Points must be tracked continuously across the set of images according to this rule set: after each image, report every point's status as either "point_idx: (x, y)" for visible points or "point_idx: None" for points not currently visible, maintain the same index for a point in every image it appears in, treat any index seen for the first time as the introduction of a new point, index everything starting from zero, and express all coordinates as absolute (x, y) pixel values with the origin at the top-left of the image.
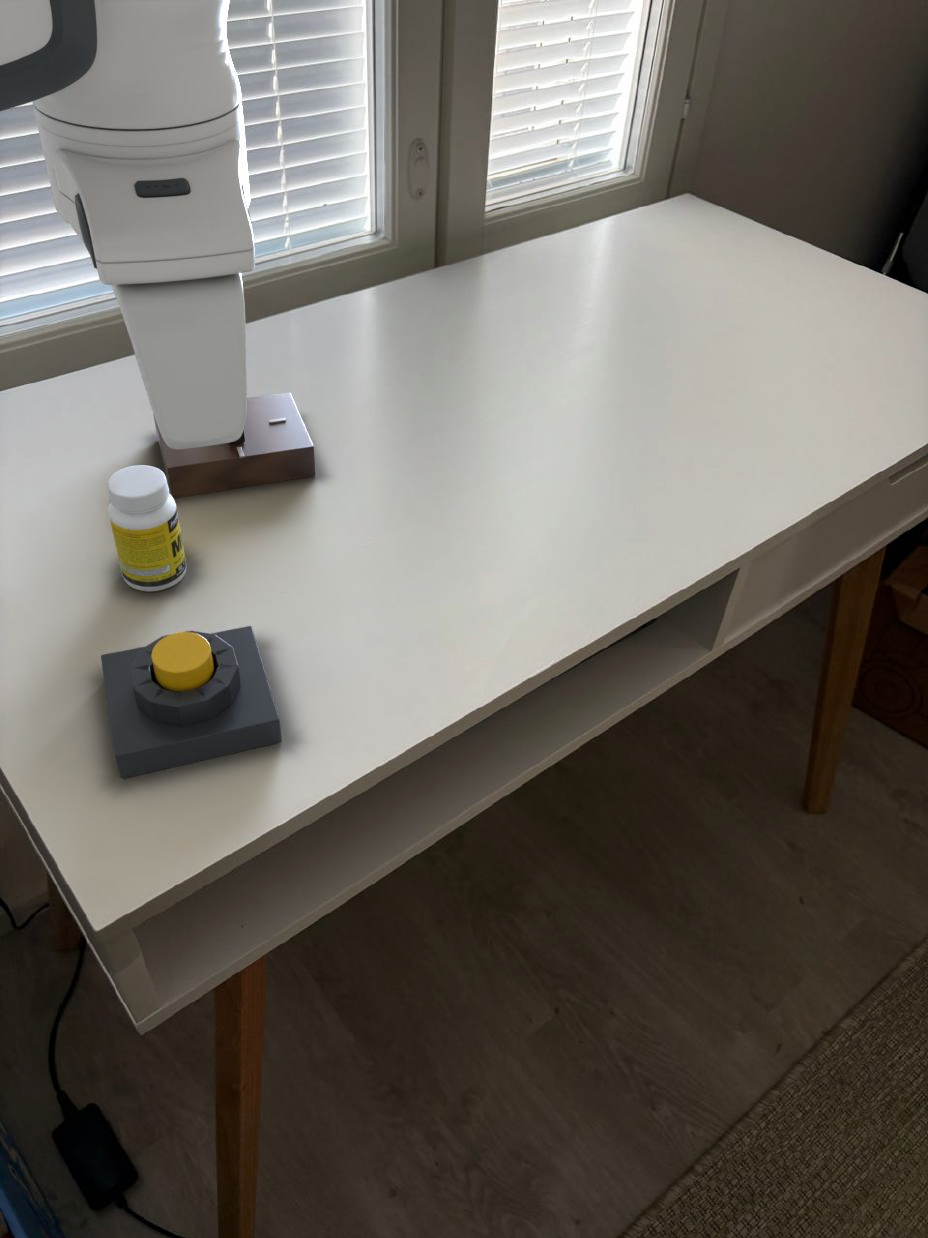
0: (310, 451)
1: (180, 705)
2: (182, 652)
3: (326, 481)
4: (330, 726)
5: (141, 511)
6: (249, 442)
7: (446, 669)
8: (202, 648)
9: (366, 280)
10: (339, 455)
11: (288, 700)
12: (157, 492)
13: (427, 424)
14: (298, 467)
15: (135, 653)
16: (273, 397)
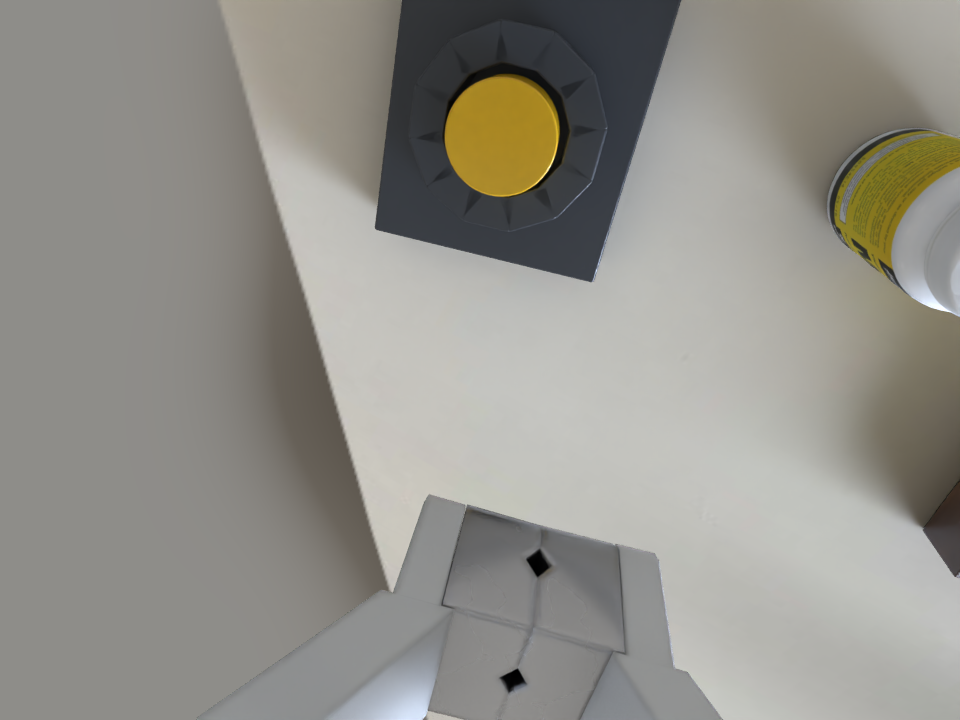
0: (952, 564)
1: (416, 89)
2: (495, 140)
3: (894, 534)
4: (389, 287)
5: (937, 230)
6: None
7: (418, 454)
8: (489, 179)
9: None
10: (941, 580)
11: (462, 260)
12: (946, 291)
13: (902, 700)
14: (949, 524)
15: (643, 66)
16: None
